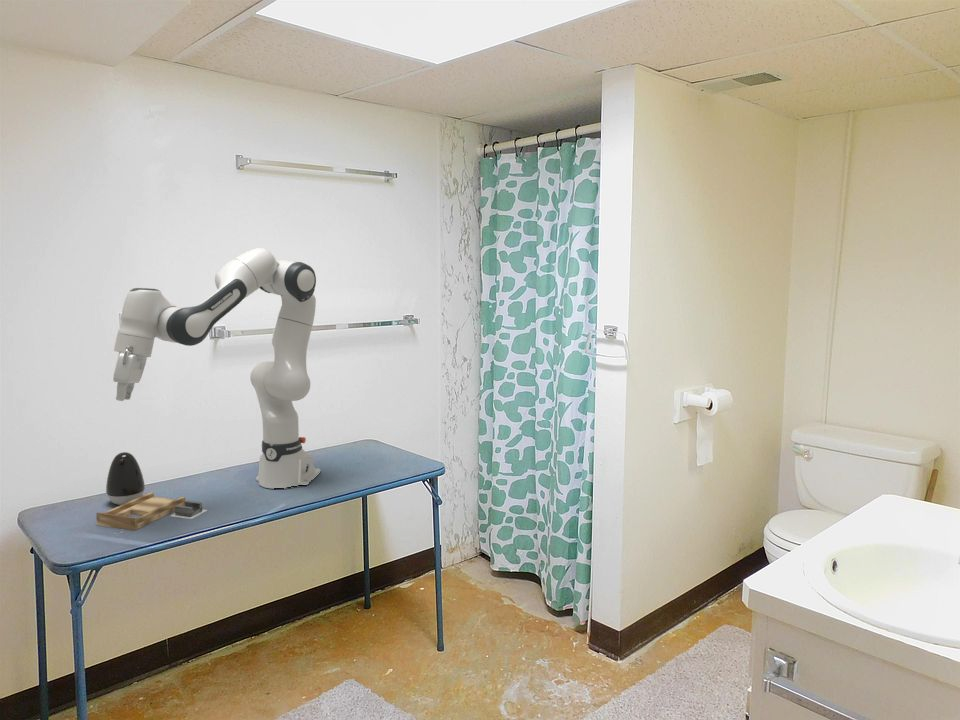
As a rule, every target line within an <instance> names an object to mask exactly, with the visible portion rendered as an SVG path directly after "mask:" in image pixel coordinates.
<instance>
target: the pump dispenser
mask: <svg viewBox="0 0 960 720" xmlns="http://www.w3.org/2000/svg"><path fill="white" fill-rule="evenodd" d="M145 486H146V484H145V480H144V475H143V472H142V470H141V467H140V464H139V462H138V460H137V459H136V457H135V456H134V454H131V453H130V452H128V451H127V452H126V451H125V452H123V451H122V452H119V453H117V454H116V455H115V457H114V458H113V459H112V462H111V464H110V467H109V470H108V474H107V478H106V487H105V493H106V496H108V499H109V500H110V502H112V503H113V504H114V505H118V506H120V505H123V504H125V503H127V502H130V501H132V500H134V499H136V498H139V497H141V496H143V495H144V491H145V489H146V487H145Z"/></svg>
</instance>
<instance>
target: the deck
mask: <svg viewBox="0 0 960 720" xmlns="http://www.w3.org/2000/svg"><path fill="white" fill-rule="evenodd" d="M186 499H187V498H186V496H185V495H184V496H182V495H181V497H178V498H168V497H162V496H160V497H159V496H155V493H154V491H153V492H152V491H150V492H148V493H145V494H143V495H142V496H141V497H139V498H136V499H134V500H132V501H130V502H127V503H125V504H123V505H118V506H116V507H114V508H112V509H108V510H107V511H105V512H96V513H95V514H96V516H95V517H96V525H97V526H101V527H108V528H113V529H114V528H115V529H122V530H128V531H136V530H138V529H140V528H143V527H145V526H148V525H149V524H150V523H153V522H155V521H156V520H160V519H161V518H162V517H165V516H166V515H169V514H172V513H173V512H175V506H177V505H179V506H185V501H187V500H186ZM130 515H136V516H138V517H132V516H130Z"/></svg>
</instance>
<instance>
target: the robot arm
mask: <svg viewBox="0 0 960 720" xmlns="http://www.w3.org/2000/svg"><path fill="white" fill-rule="evenodd" d="M214 283H215V287H216V289H217V290H216V291H214V293H212V294H210V296H208V297H206V299H204V300H203V301H202V302H201V303H199V304H197V305H194V306H188V307H181V306H177V305H176V304H173V303H172V302H171V301H170V300H169V299H167V298H166V297H165V296H164V295H163V293H162V291H161V290H160V289H156V288H147V287H135V288H132V289H130V290H129V291H128V292H127V294H126V297H125V300H124V303H123V306H122V310H121V315H120V320H121V321H120V322H121V324H120V326H119V329H118V330H117V334H116V338H115V344H114V347H113V351H114V352H118V356H117V360H116V364H115V369H114V373H113V382H114V383H117V385H116V396H115V400H116V401H119V402H120V401H121V402H123V401H126V400H131V396H132V393H133V390H134V388H135V384H139V383H140V381H141V379H142V377H143V373H144V371H145V366H146V363H147V359H148V358H151V357H152V352H153V348H154V343H155V339H156V338H157V339H158V340H161V341H164V342H168V343H169V342H170V343H176V344H179V345H184V346H187V347H188V346H189V347H191V346H196V345H198V344H200V343H202V342H203V341H204V340H205V339H206V338H207V336H208V335H209V333H210V332H211V330H212V328H213V327H214V326H215V324H217V322H219V321H220V320H221V319H222V318H223V317H225V316H226V315H227V314H228V313H230V312H231V311H232V310H233V309H235V308H236V307H237V306H238V305H239V304H241V302H242V301H243V300H244V299H246V298H247V297H249V296H250V295H252V294H253V293H254V292H256V291H257V290H259V289H260V290H261V291H264V292H265V293H267V294H273V295H277V296H280V298H281V306H280V310H279V312H278V316H277V320H276V323H275V327H274V331H273V334H272V339H271V344H272V346H273V350H274V353H273V354H274V361H265V362H259V363H258V364H256V365H255V366H254V367H253V368H252V369H251V372H250V383H251V385H252V387H253V388H254V390H255V393H256V396H257V397H256V398H257V401H258V405H259V409H260V412H261V418H262V419H261V420H262V440H261V455H260V456H259V462H258V463H259V464H258V475H257V476H256V477H255V481H257V482H258V485H259V486H261V487H262V488H266V489H274V488H284V489H287V488H286V487H291V486H295V485H302V484H307V483H309V482H310V481H311V480H312V479H313V478H314V477H315V476H316V475H317V474H318V473H319V472H320V470H321V469H320V468H319V467H315V466H314V465H315V464H314V458H313V456H312V455H311V454H310V453H309V452H307V451H305V450H304V449H303V446H302V444H305V443H306V441H307V438H306V437H305V436H302V437H301V436H300V435H299V431H300V430H299V413H298V412H297V410H295V407H294V404H293V402H294V401H295V402H296V401H301V400H302V399H304V398H306V396H307V395H308V394H309V392H310V389H311V379H310V377H309V375H308V371H307V352H308V351H307V350H308V346H309V345H308V344H309V341H310V339H311V338H310V337H311V333H312V328H313V325H314V321H315V316H316V315H315V314H316V307H317V306H316V304H317V303H316V302H317V301H316V296H315V294H314V293H315V289H316V284H317V277H316V272H315V270H314V268H312V266H311V265H309V264H307V263H304V262H301V261H294V260H290V259H276V257H275V256H274V254H273V253H272V252H271V251H269V250H268V249H267V248H263V247H255V248H252V249H249V250H248V251H246V252H243V253H241V254H238V255H237V256H236V257H234V258H233V259H231V260H229V261H227V262H226V263H224V265H222V266H221V267H220V268H219V270H217V271H216V273H215V275H214ZM314 468H317V469H314ZM291 488H292V487H291Z"/></svg>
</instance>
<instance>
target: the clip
mask: <svg viewBox="0 0 960 720" xmlns="http://www.w3.org/2000/svg"><path fill="white" fill-rule="evenodd" d="M202 510H203V502H199V501H193V500H186V501H185V506H179V505H177V506H175V511H174V514H175V515H178V516H185V517H192V516H194V515H196V514H198V513H200V512H201V511H202Z"/></svg>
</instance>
